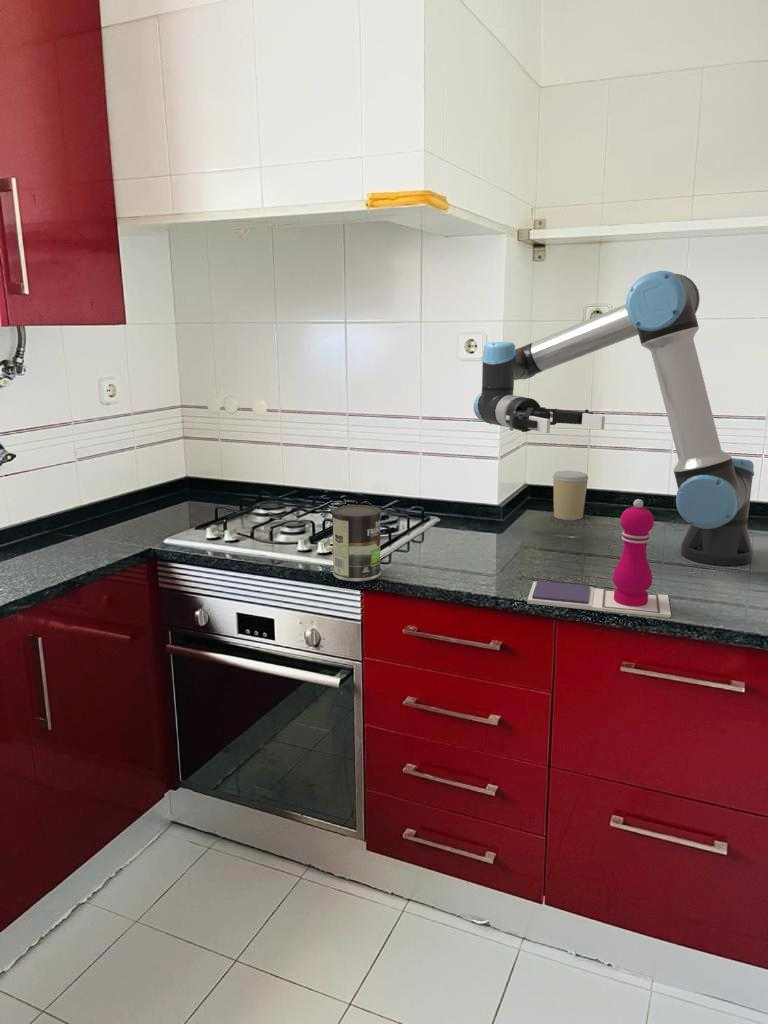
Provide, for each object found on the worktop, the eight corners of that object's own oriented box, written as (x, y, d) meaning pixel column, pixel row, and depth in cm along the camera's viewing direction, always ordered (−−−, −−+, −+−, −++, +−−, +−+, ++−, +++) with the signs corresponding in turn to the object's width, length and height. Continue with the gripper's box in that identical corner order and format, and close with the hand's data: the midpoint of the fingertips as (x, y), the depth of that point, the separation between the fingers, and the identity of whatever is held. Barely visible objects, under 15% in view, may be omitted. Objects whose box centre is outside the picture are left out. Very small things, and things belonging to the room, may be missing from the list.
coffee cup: (575, 511, 222) (577, 469, 219) (592, 519, 213) (594, 476, 210) (545, 513, 220) (547, 471, 217) (560, 521, 211) (563, 478, 208)
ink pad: (593, 590, 158) (594, 584, 157) (591, 610, 148) (592, 603, 147) (533, 585, 161) (533, 579, 161) (527, 603, 151) (527, 597, 151)
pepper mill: (624, 609, 146) (632, 504, 141) (603, 596, 153) (610, 496, 148) (658, 605, 148) (667, 502, 143) (636, 592, 155) (644, 494, 150)
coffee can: (388, 569, 171) (388, 506, 168) (369, 584, 162) (369, 518, 158) (344, 564, 175) (344, 502, 171) (324, 578, 165) (323, 513, 162)
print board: (667, 598, 154) (667, 594, 154) (670, 618, 144) (670, 614, 144) (593, 590, 158) (594, 587, 158) (591, 610, 148) (591, 606, 147)
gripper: (563, 426, 186) (623, 439, 167) (471, 432, 176) (523, 446, 157) (565, 394, 184) (626, 403, 165) (472, 398, 174) (525, 409, 155)
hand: (576, 424), depth 161 cm, fingers open, 13 cm apart
